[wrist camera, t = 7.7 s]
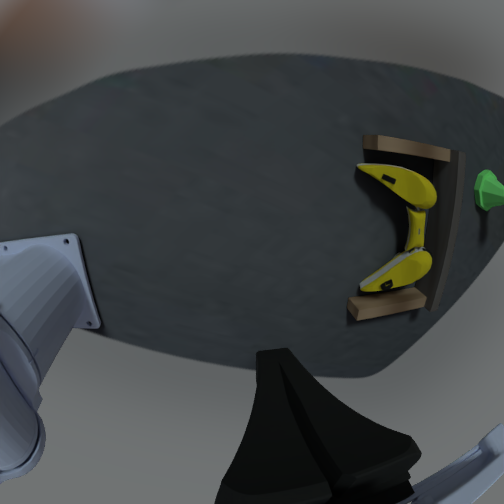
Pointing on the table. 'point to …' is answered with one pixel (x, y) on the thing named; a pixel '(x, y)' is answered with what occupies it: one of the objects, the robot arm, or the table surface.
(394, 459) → the robot arm
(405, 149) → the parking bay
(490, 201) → the game piece
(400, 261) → the yellow plastic handheld tool
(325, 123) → the table surface
